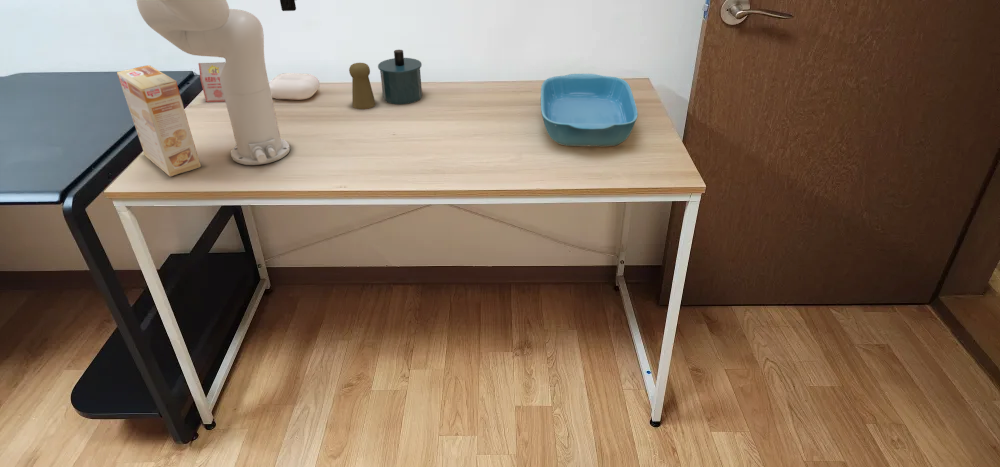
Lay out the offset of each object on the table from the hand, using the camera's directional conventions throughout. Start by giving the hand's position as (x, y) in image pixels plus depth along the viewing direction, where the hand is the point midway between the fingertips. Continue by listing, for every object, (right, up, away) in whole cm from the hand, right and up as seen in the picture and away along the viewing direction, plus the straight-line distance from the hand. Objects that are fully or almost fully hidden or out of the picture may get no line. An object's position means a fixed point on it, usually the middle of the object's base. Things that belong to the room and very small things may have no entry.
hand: (293, 5), depth 152 cm
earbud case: (-7, -17, +23) cm, 29 cm away
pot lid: (+23, -10, +17) cm, 30 cm away
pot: (+23, -17, +22) cm, 36 cm away
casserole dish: (+70, -28, +5) cm, 76 cm away
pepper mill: (+13, -20, +17) cm, 30 cm away
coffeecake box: (-24, -38, -10) cm, 46 cm away
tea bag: (-26, -18, +22) cm, 39 cm away
